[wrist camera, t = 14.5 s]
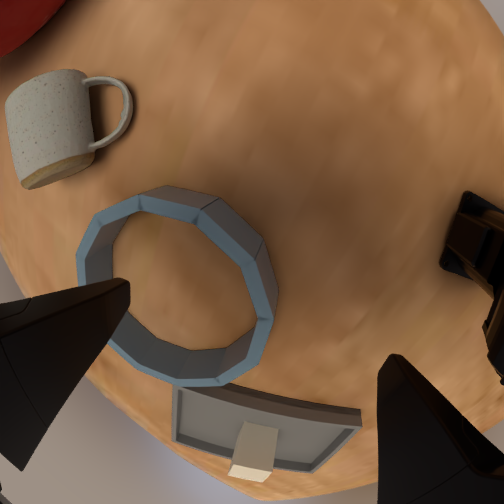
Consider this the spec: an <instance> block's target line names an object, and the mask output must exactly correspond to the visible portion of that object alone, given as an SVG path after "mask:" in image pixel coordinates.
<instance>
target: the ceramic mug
mask: <svg viewBox="0 0 504 504" xmlns="http://www.w3.org/2000/svg"><path fill="white" fill-rule="evenodd" d="M98 84H112V85H115V86H117V87H119V88H120V89H121V90H122V93H123V103H124V109H123V111H122V113H121V121H120V122H119V126H118V127H117V128H116V129H115V130H114V131H113V132H112V133H111V134H110V135H109V136H107V137H105V138H103V139H102V140H100V141H97V142H95V141H94V135H93V128H92V123H91V112H90V100H89V87H90V86H93V85H98ZM5 113H6V121H7V128H8V135H9V141H10V147H11V151H12V157H13V162H14V167H15V171H16V174H17V176H18V179H19V181H20V183H21V185H22V186H23V187H24V188H25V189H28V190H31V189H35V188H39V187H42V186H45V185H48V184H51V183H53V182H56V181H58V180H61V179H63V178H65V177H68V176H70V175H72V174H75V173H77V172H79V171H81V170H83V169H85V168H87V167H88V166H90V165H91V163H92V162H93V160H94V157H95V154H94V153H95V150H96V149H98V148H101V147H104V146H106V145H108V144H110V143H111V142H113V141H114V140H116V139H117V138H118V137H120V136H121V135H122V134H123V133H124V131H125V130H126V129H127V127H128V125H129V123H130V120H131V117H132V114H133V101H132V97H131V94H130V92H129V90H128V88H127V87H126V85H125V84H124V83H123V82H122V81H120V80H118V79H116V78H113V77H109V76H96V77H91V78H87V76H86V75H85V73H83V72H81V71H78V70H75V69H62V70H56V71H51V72H47V73H44V74H41V75H39V76H36V77H34V78H32V79H30V80H28V81H26V82H25V83H23V84H21V85H20V86H19V87H17V88H16V89H15V90H14V91H13V92H12V93H11V94H10V95H9V97H8V98H7V100H6V103H5Z"/></svg>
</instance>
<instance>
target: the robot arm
mask: <svg viewBox="0 0 504 504" xmlns="http://www.w3.org/2000/svg"><path fill="white" fill-rule="evenodd" d="M468 196H470V199H469V200H468ZM445 261H447V263H446V264H445V265H444V263H445ZM439 265H440V267H441V268H442V269H444V270H446V271H449V272H452V273H455V274H458V275H460V276H463V277H466V278H469V279H471V280H474V281H475V282H476V283H477V284H478V285H479V286H480V287H481V288H482V289H484V290H485V291H486V292H487V293H488V294H489V295H490V296H491V297H492V299H493V300H494V301H493V303H492V306H491V309H490V312H489V314H488V317H487V319H486V320H485V321H484V324H483V326H482V328H483V332H484V335H485V338H486V343H487V347H488V350H489V352H488V354H487V357H488V360H489V361H490V363H491V365H492V366H493V368H494V369H495V371H496V373H497V374H498V375H499V376H500V377H501V380H500V383H501V384H502V385H504V211H502V210H501V209H499V208H497V207H496V206H494V205H493V204H491V203H489V202H488V201H486V200H484V199H483V198H481V197H479V196H478V195H476V194H474V193H472V192H470V191H466V192H465V193H464V194H463V197H462V201H461V204H460V207H459V210H458V213H457V215H456V218H455V221H454V224H453V227H452V229H451V232H450V235H449V238H448V240H447V244H446V247H445V249H444V252H443V254H442V257H441V259H440V262H439ZM129 306H130V282H129V281H128V280H125V279H122V278H114V279H110V280H105V281H101V282H96V283H92V284H88V285H83V286H79V287H74V288H70V289H66V290H61V291H57V292H53V293H48V294H44V295H40V296H35V297H32V298H26V299H23V300H18V301H13V302H8V303H1V304H0V453H1V454H2V455H3V456H4V457H5V458H6V459H7V460H9V461H10V462H11V463H12V464H13V465H14V466H15V467H17V468H18V469H19V470H20V471H23V470H24V468H25V466H26V465H27V463H28V461H29V459H30V458H31V456H32V454H33V453H34V451H35V449H36V448H37V446H38V444H39V443H40V441H41V439H42V438H43V436H44V435H45V433H46V431H47V430H48V428H49V426H50V425H51V423H52V422H53V420H54V418H55V417H56V415H57V414H58V412H59V411H60V409H61V408H62V406H63V405H64V403H65V402H66V400H67V399H68V397H69V396H70V394H71V393H72V391H73V390H74V388H75V387H76V385H77V384H78V383H79V381H80V380H81V378H82V377H83V376H84V374H85V373H86V371H87V370H88V369H89V367H90V366H91V364H92V363H93V362H94V360H95V359H96V358H97V356H98V355H99V353H100V352H101V351H102V349H103V348H104V347H105V345H106V344H107V343H108V341H109V340H110V338H111V337H112V335H113V333H114V332H115V330H116V328H117V326H118V325H119V323H120V321H121V320H122V318H123V316H124V315H125V313H126V311H127V310H128V308H129ZM377 429H378V501H377V504H504V454H503V453H502V452H501V451H500V450H499V449H498V448H497V447H496V446H494V445H493V444H492V443H491V442H490V441H489V440H488V439H487V438H486V437H484V436H483V435H482V434H481V433H480V432H479V431H478V430H477V429H476V428H475V427H474V426H473V425H472V424H471V423H470V422H469V421H468V420H467V419H466V418H465V417H464V416H462V414H461V413H460V412H459V411H458V410H457V409H456V408H455V407H454V406H453V405H452V404H451V403H450V402H449V401H448V400H447V399H446V398H445V397H444V396H443V395H442V394H441V393H440V392H439V391H438V390H437V389H436V388H435V387H434V386H433V385H432V384H431V383H430V382H429V381H428V380H427V379H426V378H425V377H424V376H423V375H422V374H421V373H420V372H419V371H418V370H417V369H416V368H415V367H414V366H413V365H412V364H411V363H409V362H408V361H407V360H406V359H405V358H404V357H403V356H402V355H399V354H390V355H389V356H388V358H387V359H386V361H385V362H384V364H383V365H382V367H381V368H380V370H379V372H378V377H377ZM1 490H2V487H1V483H0V492H1ZM0 504H12V503H11V502H9V501H8V500H7V499H6V498H5V497H4V496H3V495H2V494H1V493H0Z"/></svg>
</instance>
